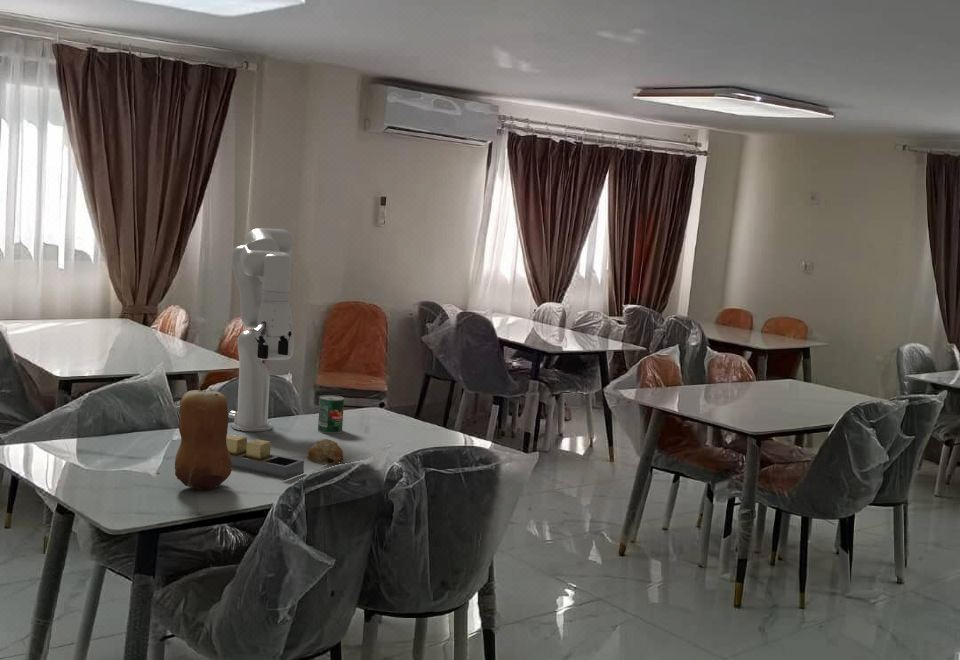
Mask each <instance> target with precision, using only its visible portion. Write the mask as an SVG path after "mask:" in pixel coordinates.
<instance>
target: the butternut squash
mask: <svg viewBox="0 0 960 660" xmlns="http://www.w3.org/2000/svg"><path fill="white" fill-rule="evenodd" d="M179 403H180V404H179V421H178V430H179V435H180V444H179V446H178V449H177V452H176V455H175V460H174V470H175V471H174V474H175V476H176V478H177V480H179V481H180V482H181V483H182V484H183V485H184V486H186V487H189V488H191V489H197V488H198V490H200V489H202V490H201V491H205V490H206V491H209V489H210V490H214V489H215V488H217V487H218V486H220V485H221V484H222V483H224V482H225V481H226V480H227V479H228V478H229V477H230V475H231V473H232V467H231V465H232V462H231V456H230V453H229V450H228V448H227V443H226V437H228V436H227V435H228V430H229V417H228V415H229V408H228V402H227V399H226V396H225V395H224V394H223V393H222V392H219V391H214V390H212V391H211V390H209V391H207V390H197V389H194V390H189V391H187V392H185V393H184V394H183V396H182V398H181V401H180V402H179Z"/></svg>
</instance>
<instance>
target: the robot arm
mask: <svg viewBox="0 0 960 660" xmlns="http://www.w3.org/2000/svg"><path fill="white" fill-rule="evenodd" d="M294 245H295V244H294V237H293V235H292V233H291V232H290V231H289V230H287V229H281V228H268V227H267V228H266V227H260V228H259V227H258V228H257V227H256V228H254V229H251V230H250V231H249V232H248V233H247V234H246V236H245V244H241V245H238V246H236V247H234V248H233V251H232V253H231V265H232V266H231V267H232V272H233V276H234V278H235V281H236V283H237V286H238V289H239V305H240V306H239V308H240V317H241V322H242V325H243V326H244V327H246V328H248V329H246V330H243V331H241V332H240V333H239V334H238V338H237V351H238V369H239V370H238V372H239V373H238V374H239V375H238V391H237V395H238V396H237V411H235V410H231V411H229V413H228V419H229V418H230V419H234V420H233V422H232V423H231V428H232V427H233V428H232V429H234V430H236V429H237V430H236V431H240V430H241V431H242V432H251V433H254V432H256V433H257V432H258V433H259V432H266V431H269V430H271V429H272V428H273V423H272V422H270V421H268V419H269V399H270V398H269V397H270V395H269V394H270V382H271V381H270V371H269V369H268V368H267V367H266V365H265V364H264V363H263V361H267V360H268V361H273V360H274V361H282V360H283V361H287V360H289V359H291V358H292V356H293V355H294V352H295V350H294V349H295V340H294V325H293V315H292V314H293V313H292V309H291V306H290V291H291V290H290V288H291V286H290V285H291V273H292V271H293V265H294V264H293V258H292V257H291V256H292V255H293V250H294ZM260 277H261V278H262V279H261V278H260Z"/></svg>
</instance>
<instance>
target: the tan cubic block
mask: <svg viewBox="0 0 960 660" xmlns="http://www.w3.org/2000/svg"><path fill="white" fill-rule="evenodd" d="M271 442H272V441H269V440H263V439H257V438H256V439H253V440H250V441H247V453H246V458H249V459H254V460H259V461H262V460H265V459H268V458H270V454H271V444H272V443H271Z"/></svg>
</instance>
